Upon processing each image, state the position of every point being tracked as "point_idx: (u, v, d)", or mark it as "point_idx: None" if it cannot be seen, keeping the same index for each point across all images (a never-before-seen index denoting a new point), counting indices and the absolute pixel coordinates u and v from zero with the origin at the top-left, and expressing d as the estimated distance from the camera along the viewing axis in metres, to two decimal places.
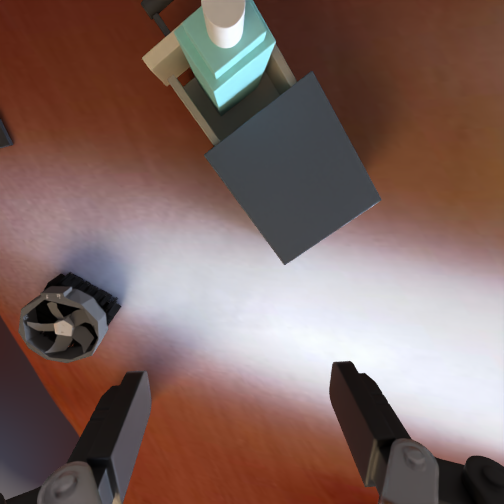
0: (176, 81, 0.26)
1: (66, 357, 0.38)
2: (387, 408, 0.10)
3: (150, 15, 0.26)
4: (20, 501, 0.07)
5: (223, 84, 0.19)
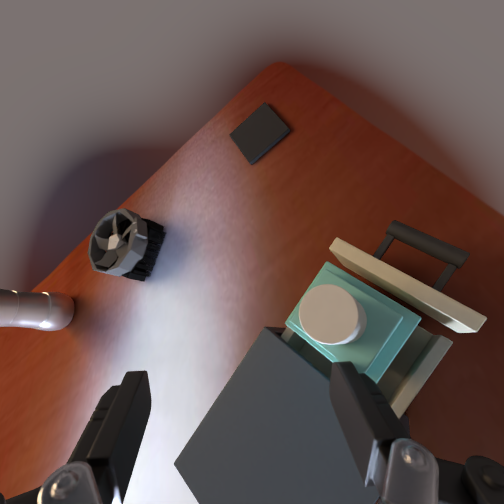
0: None
1: (93, 250, 0.44)
2: (387, 408, 0.10)
3: (387, 232, 0.24)
4: (20, 501, 0.07)
5: (297, 332, 0.15)
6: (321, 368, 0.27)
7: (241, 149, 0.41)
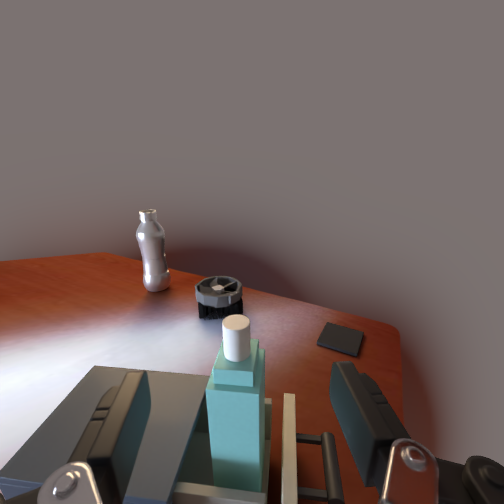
0: (265, 402, 0.31)
1: (206, 280, 0.65)
2: (387, 408, 0.10)
3: (321, 434, 0.29)
4: (20, 502, 0.07)
5: None
6: (192, 454, 0.31)
7: (322, 333, 0.53)
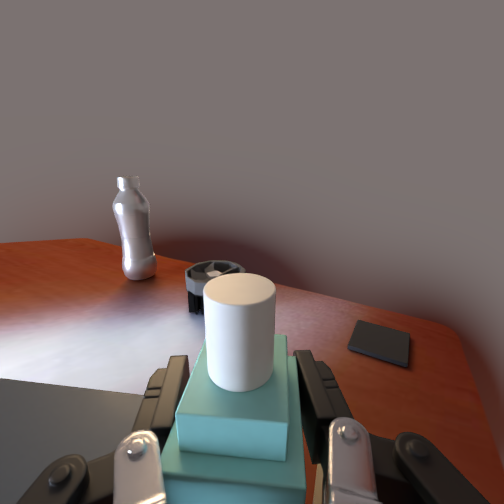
0: None
1: (200, 265, 0.51)
2: (337, 392, 0.11)
3: None
4: (95, 465, 0.08)
5: None
6: None
7: (353, 333, 0.39)
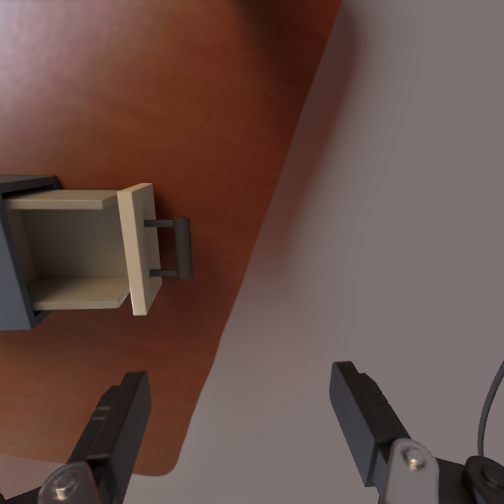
0: (94, 207, 0.23)
1: None
2: (387, 408, 0.10)
3: (174, 220, 0.26)
4: (20, 501, 0.07)
5: None
6: (42, 225, 0.28)
7: None
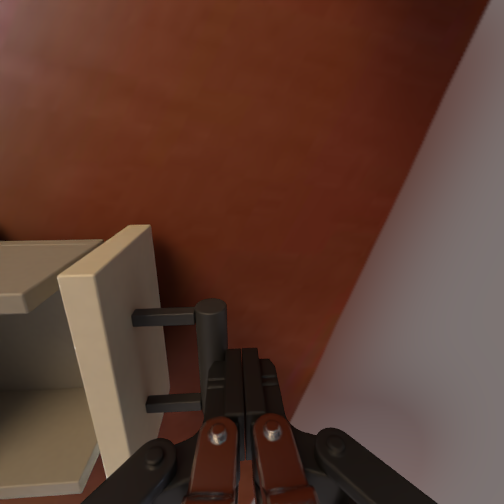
0: (7, 311, 0.09)
1: None
2: (275, 389, 0.11)
3: (196, 312, 0.12)
4: (179, 449, 0.09)
5: None
6: None
7: None
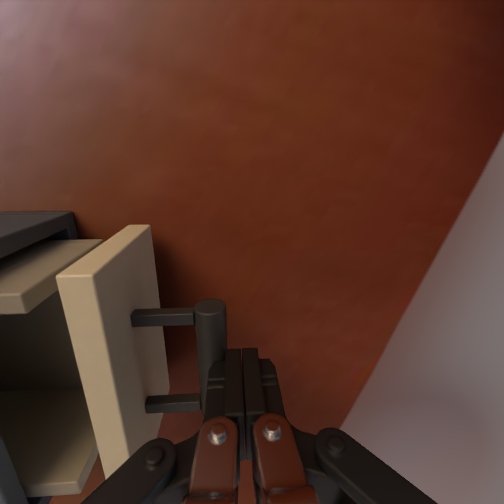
0: (5, 311, 0.09)
1: None
2: (275, 389, 0.11)
3: (195, 312, 0.12)
4: (179, 449, 0.09)
5: None
6: None
7: None
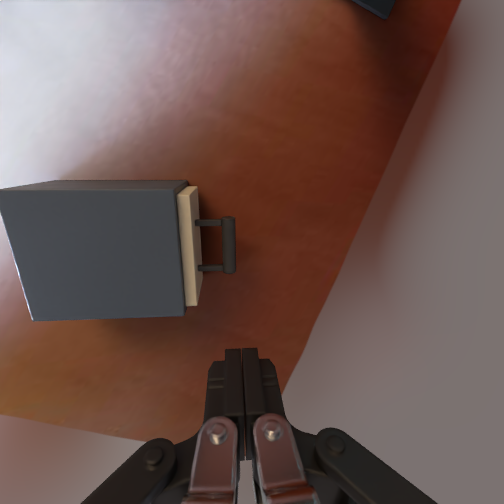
0: None
1: None
2: (275, 389, 0.11)
3: (222, 219, 0.29)
4: (179, 449, 0.09)
5: None
6: None
7: None
